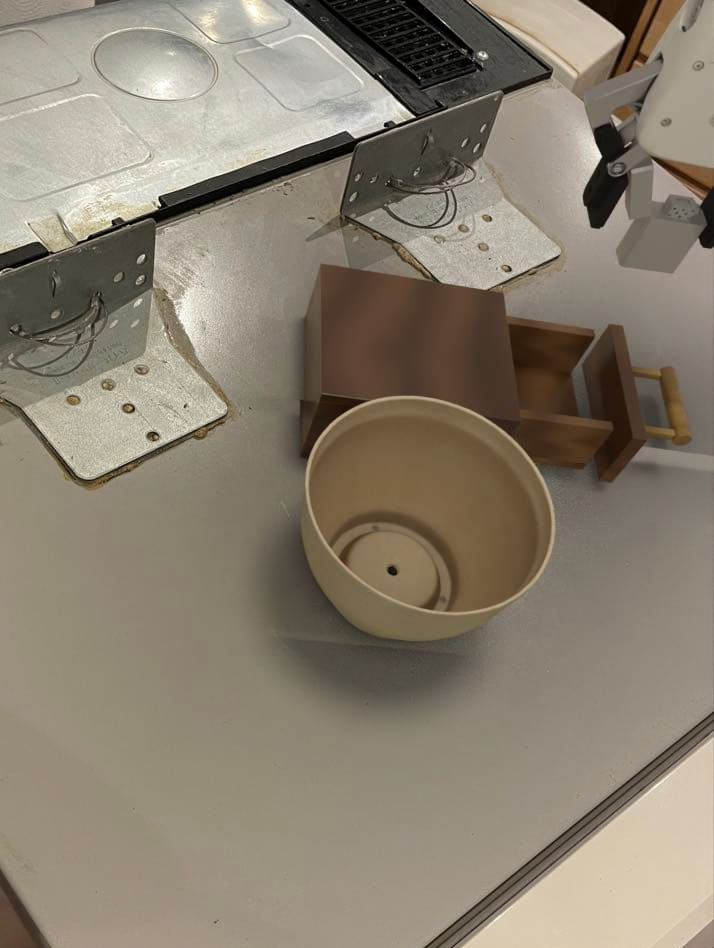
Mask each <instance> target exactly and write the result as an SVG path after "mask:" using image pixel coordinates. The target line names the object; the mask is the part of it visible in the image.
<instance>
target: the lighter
mask: <svg viewBox="0 0 714 948" xmlns="http://www.w3.org/2000/svg"><path fill="white" fill-rule="evenodd" d="M654 170H655V168H654V163H653V159H652V156H651V155H649V156H648V157H647V158H645V159H644V160H643V161H641V162H640V163H639V164H637V165H636V166H635V167H633V168H632V169H630V170H629V171H628V172H627V175H628V179H629V183H628V186H627V188H626V190H625V191H624V206H625V210H626V213H627V218H628V220H629V221H632V220H633V221H632V223H631V224H630V225H629V227H628V229H627V230H626V232H625V234H624V235H623V237H622V239H621V240H620V241H619V243H618V245H617V247H616V248H615V253H616V256H617V262H618V265H619V266H621V267H622V268H627V269H628V268H629V269H635V270H644V271H650V272H655V273H656V272H658V273H664V274H671V275H673V274H674V273H675V271H676V270H677V269H678V268H679V266H680V265H681V263H682V262H683V261H684V259H685V258H686V256H687V255H688V254H689V252H690V250H691V249H692V247H693V246H694V244H695V243H696V242H697V240H699V238H698V237H699V236H700V235H701V233H702V232H703V230H704V229H705V227H706V226H707V223H706V219H705V216H704V213H703V210H702V209H700V205H701V204H699V203H697V202H696V200H695V198H694V197H691V196H686V195H679V194H672V193H670V194H668V195H667V198H665V201H664V202H663V201H658V200H657V201H656V200H653V191H654V189H653V188H654V187H653V186H654V172H655V171H654Z"/></svg>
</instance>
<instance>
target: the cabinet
mask: <svg viewBox="0 0 714 948" xmlns="http://www.w3.org/2000/svg"><path fill="white" fill-rule="evenodd" d="M314 281H315V282H314V285H313V288H312V291H311V294H310V298H309V302H308V305H307V309H306V312H305V315H304V357H303V358H304V369H303V370H304V376H303V377H304V378H303V379H304V381H303V382H304V384H303V385H304V390H303V392H304V395H303V399H299V458H303V459H309V456H310V453H311V451H312V449H313V447H314V445H315V443H316V441H317V440H318V438H319V437H320V435H321V434H322V433H323V431H324V430H325V429H326V428H327V427H328V426H329V425H330V424H331V423H332V422H333V421H334V420H336V419H337V418H338V417H339V416H341V415H342V414H344V413H345V412H347V411H349V410H350V409H352V408H354V407H356V406H358V405H361V404H363V403H366V402H368V401H372V400H375V399H379V398H385V397H391V396H422V397H428V398H434V399H439V400H443V401H447V402H450V403H454V404H456V405H459V406H462V407H464V408H467V409H469V410H471V411H473V412H475V413H477V414H479V415H481V416H483V417H484V418H486V419H488V420H489V421H491V422H492V423H494V424H495V425H497V426H498V427H499V428H501V429H502V430H503V431H505V432H506V433H507V434H508V435H509V436H511V437H512V435H513V433H514V432H515V430H516V429H517V427H518V426H519V424H520V422H521V416H520V409H519V401H518V394H517V387H516V380H515V372H514V365H513V358H512V350H511V343H510V336H509V329H508V321H507V316H508V315H507V306H506V299H505V293H504V292H503V291H502V292H501V291H494V290H489V289H483V288H477V287H471V286H466V285H465V286H464V285H458V284H451V283H445V282H440V281H434V280H428V279H421V278H414V277H408V276H403V275H397V274H390V273H383V272H377V271H372V270H366V269H365V270H364V269H358V268H352V267H348V266H347V267H345V266H340V265H335V264H328V263H320V264H319V267H318V271H317V275H316V278H315V280H314Z"/></svg>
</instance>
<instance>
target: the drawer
mask: <svg viewBox="0 0 714 948" xmlns="http://www.w3.org/2000/svg"><path fill="white" fill-rule="evenodd" d="M507 321H508V329H509V336H510V343H511V350H512V358H513V365H514V372H515V380H516V387H517V394H518V401H519V409H520V416H521V422H520V424H519V426H518V427H517V429H516V430H515V432H514V433H513V435H512V438H513V439H514V440H515V441H516V442H517V443H518V444H519V445H520V447H521V448H522V449H523V450H524V451H525V452H526V453H527V455H528V456H529V457H530V459H531V460H532V461H533V463H534V464H535V465H543V466H549V467H550V466H551V467H558V468H566V469H574V470H584V469H585V467H586V466H587V465H588V463H589V462H590V461H591V459H593V462H594V468H595V473H596V478H597V482H601V483H609V484H613V482H614V481H615V480H616V479H617V477H618V476H619V475H620V474H621V473H622V471H624V469H625V468H626V467H627V465H628V464H629V463H630V462H632V460H633V459H634V458H635V456H636V455H637V454H638V453H639V452H640V450H641V449H642V447H644V446H645V444H646V443H648V440H649V439H648V437H651V438H658V439H665V440H672V443H673V445H675V446H677V447H682V446H686V445H688V444H690V443H691V442H692V439H693V438H692V433H691V429H690V426H689V421H688V417H687V412H686V409H685V404H684V400H683V396H682V393H681V389H680V384H679V381H678V377H677V372H676V368H674V367H673V366H670V365H669V366H668V365H667V366H663V367H661V368H660V369H656V368H655V369H654V368H648V367H641V366H634V365H632V361H631V356H630V351H629V347H628V342H627V338H626V333H625V329H624V326H623V325H621V324H614V323H609V324H608V325H607V326H606V328H605V329H604V330H603V332H602V333H601V335H600V337H599V338H598V340H597V341H596V343H594V346H593V347H592V349H591V350H590V352H589V353H588V354H587V356H586V357H585V359H584V361H583V362H582V364H581V368H582V373H583V378H584V384H585V390H586V394H587V400H588V406H589V410H590V411H589V412H590V417H591V418H587V417H580V416H579V410H578V406H577V399H576V393H575V389H574V382H573V377H572V373H573V371H574V370H575V368H576V367H577V365H578V364H579V362H580V361H581V359H582V357H583V356H584V355H585V353H586V352H587V350H588V349H589V347H590V346H591V344H592V343H593V341H594V340H595V339H596V331H595V329H593V328H587V327H582V326H581V327H580V326H575V325H574V326H573V325H567V324H562V323H561V324H560V323H555V322H550V321H543V320H536V319H530V318H523V317H516V316H510V315H507ZM635 378H639V379H640V378H642V379H648V380H654V381H655V380H656V381H658V384H659V388H660V393H661V398H662V401H663V405H664V410H665V413H666V418H667V421H668V422H667V423H668V428H666V427H659V426H651V425H645V421H644V417H643V412H642V407H641V403H640V398H639V394H638V390H637V384H636V380H635Z"/></svg>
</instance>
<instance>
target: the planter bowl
mask: <svg viewBox="0 0 714 948" xmlns="http://www.w3.org/2000/svg"><path fill="white" fill-rule="evenodd" d="M536 465H537V464H534V463H533V461H532V460H531V459H530V457H529V456H528V455H527V453H526V452H525V451H524V450H523V449H522V448H521V447H520V445H519V444H518V443H517V442H516V441H515V440H514V439H513V438H512V437H511V436H509V435H508V434H507V433H506V432H505V431H503V430H502V429H501V428H499V427H498V426H497V425H495V424H494V423H492V422H491V421H489V420H488V419H486V418H484V417H483V416H481V415H479V414H477V413H475V412H473V411H471V410H469V409H467V408H464V407H462V406H459V405H456V404H454V403H450V402H447V401H443V400H439V399H434V398H428V397H422V396H391V397H385V398H379V399H375V400H372V401H368V402H366V403H363V404H361V405H358V406H356V407H354V408H352V409H350V410H349V411H347V412H345V413H344V414H342V415H341V416H339V417H338V418H337V419H336V420H334V421H333V422H332V423H331V424H330V425H329V426H328V427H327V428H326V429H325V430H324V431H323V433H322V434H321V435H320V437H319V438H318V440H317V441H316V443H315V445H314V447H313V449H312V451H311V453H310V456H309V458H307V463H306V466H305V471H304V478H303V491H302V498H301V506H300V507H301V508H300V529H301V538H302V542H303V548H304V552H305V556H306V559H307V562H308V564H309V568H310V570H311V572H312V574H313V576H314V578H315V580H316V582H317V585H319V587H320V589H321V591H322V592H323V593H324V595H325V596H326V598H327V599H328V601H330V602H331V604H332V605H333V607H334V608H335V609H336V611H337V612H338V613H339V614H340V615H341V616H342V617H343V619H345V620H346V621H347V622H349V624H351V625H352V626H354V627H356V628H357V629H358V630H360V631H362V632H363V633H367V634H369V635H371V636H374V637H377V638H382V639H387V640H400V641H408V642H428V641H437V640H443V639H447V638H452V637H455V636H459V635H462V634H465V633H467V632H470V631H471V630H474V629H476V628H478V627H480V626H481V625H483V624H485V623H487V622H489V621H490V620H492V619H493V618H495V617H496V616H497V615H499V614H500V613H502V612H503V611H504V610H505V609H506V608H508V606H510V605H512V604H513V603H514V602H516V601H517V600H519V599H520V598H521V597H522V596H524V595H525V594H526V593H527V591H529V590H530V589H531V588H532V587H533V586H534V584H535V583H537V582H538V580H539V578H540V577H541V576H542V574H543V572H544V571H545V569H546V567H547V565H548V563H549V561H550V559H551V556H552V553H553V549H554V545H555V538H556V515H555V508H554V504H553V500H552V497H551V494H550V491H549V489H548V486H547V484H546V481H545V479H544V477H543V476H542V473H541V472H540V470H539V468H538V466H536ZM391 567H393V568H394V569H395V570H396V574H395V575H392V574H390V573H389V572H388V570H389V568H391Z"/></svg>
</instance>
